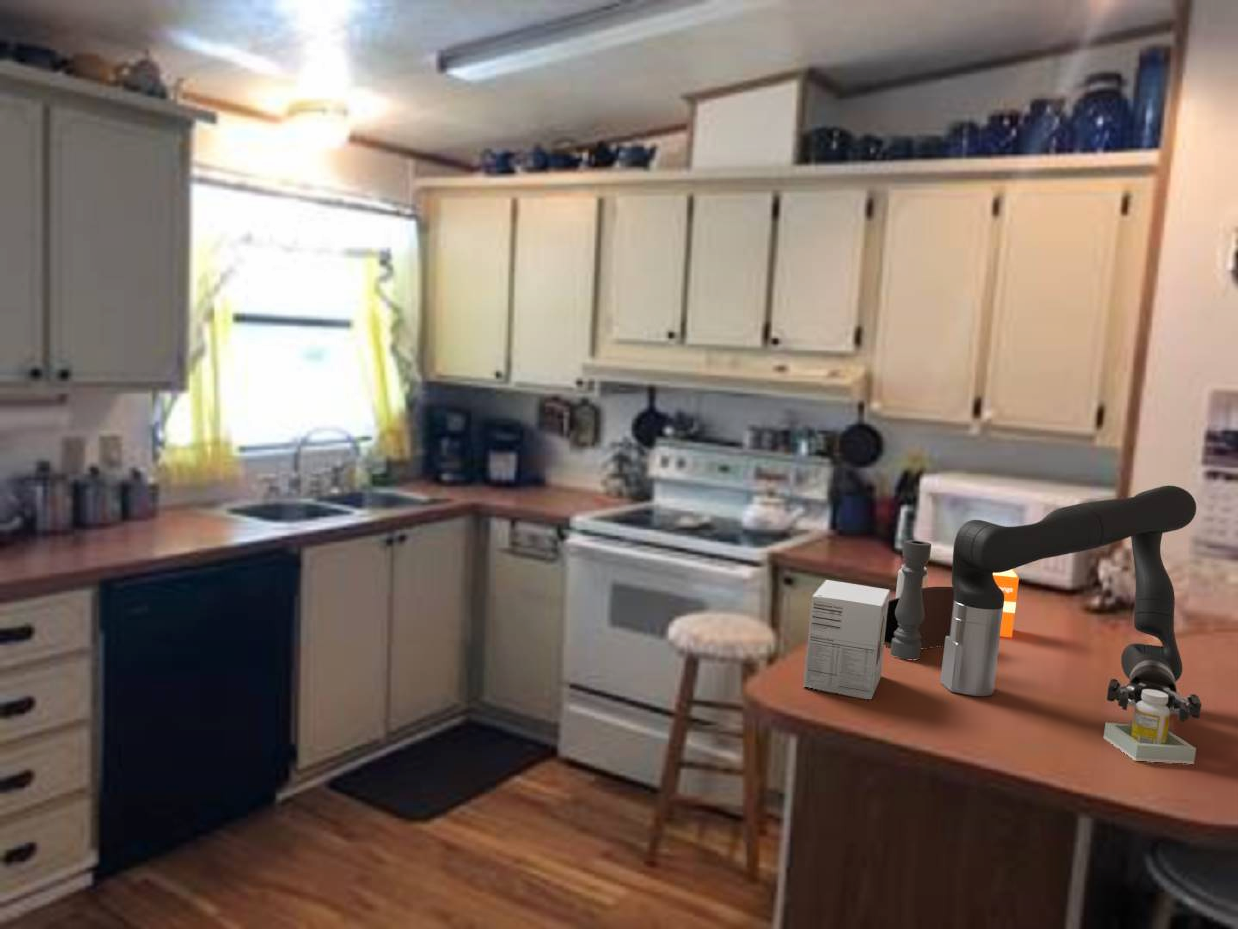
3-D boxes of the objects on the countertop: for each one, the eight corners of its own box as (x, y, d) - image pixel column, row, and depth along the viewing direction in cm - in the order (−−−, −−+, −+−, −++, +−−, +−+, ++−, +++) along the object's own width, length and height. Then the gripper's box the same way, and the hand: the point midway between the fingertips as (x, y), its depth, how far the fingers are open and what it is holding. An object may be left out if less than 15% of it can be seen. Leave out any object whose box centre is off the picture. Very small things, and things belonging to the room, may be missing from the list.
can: (927, 612, 259) (933, 566, 258) (919, 617, 253) (924, 570, 251) (899, 606, 263) (904, 561, 262) (890, 611, 257) (895, 565, 255)
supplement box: (873, 701, 186) (883, 606, 184) (801, 688, 191) (810, 595, 189) (882, 676, 202) (892, 588, 200) (816, 664, 207) (825, 578, 205)
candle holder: (924, 657, 218) (937, 544, 215) (911, 662, 213) (924, 546, 210) (898, 650, 222) (910, 538, 219) (885, 655, 217) (897, 541, 214)
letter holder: (962, 645, 230) (969, 585, 228) (898, 653, 220) (905, 590, 219) (929, 633, 239) (935, 575, 237) (866, 640, 229) (872, 579, 227)
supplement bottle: (1142, 753, 168) (1149, 697, 167) (1123, 740, 174) (1130, 686, 173) (1172, 754, 169) (1180, 699, 168) (1152, 741, 174) (1159, 688, 173)
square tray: (1135, 761, 166) (1137, 745, 166) (1103, 738, 176) (1105, 722, 176) (1193, 764, 167) (1196, 748, 166) (1158, 741, 176) (1160, 725, 176)
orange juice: (1002, 627, 249) (1011, 548, 247) (1012, 637, 240) (1022, 555, 238) (969, 624, 250) (979, 545, 247) (978, 634, 241) (988, 552, 239)
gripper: (1111, 657, 186) (1109, 679, 171) (1200, 673, 179) (1205, 698, 165) (1106, 696, 187) (1103, 721, 172) (1194, 713, 180) (1199, 741, 166)
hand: (1153, 710), depth 169 cm, fingers open, 8 cm apart
